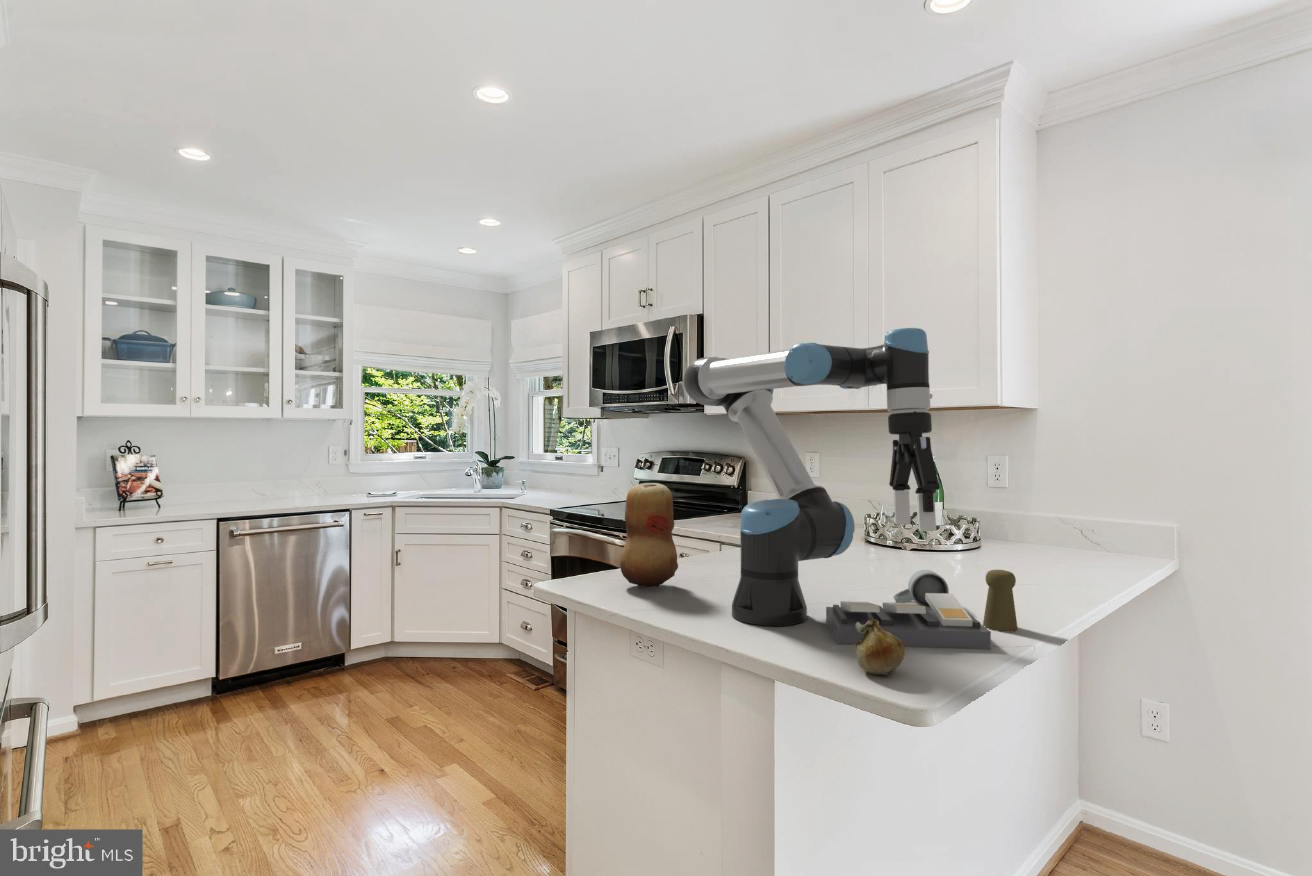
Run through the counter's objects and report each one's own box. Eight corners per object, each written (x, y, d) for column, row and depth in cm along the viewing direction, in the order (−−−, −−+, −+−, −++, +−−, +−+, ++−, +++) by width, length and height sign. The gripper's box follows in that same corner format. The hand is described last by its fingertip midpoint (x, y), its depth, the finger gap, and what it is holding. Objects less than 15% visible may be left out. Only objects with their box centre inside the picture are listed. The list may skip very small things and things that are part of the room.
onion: (851, 678, 105) (852, 626, 104) (855, 662, 112) (855, 613, 112) (904, 685, 102) (904, 631, 102) (904, 667, 109) (905, 618, 109)
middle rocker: (896, 612, 122) (896, 605, 122) (882, 608, 132) (882, 602, 133) (925, 613, 121) (925, 606, 121) (909, 609, 132) (908, 602, 132)
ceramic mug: (941, 601, 152) (941, 566, 152) (949, 610, 144) (948, 574, 144) (891, 599, 154) (891, 565, 154) (896, 608, 146) (896, 572, 146)
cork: (1004, 633, 128) (1004, 575, 128) (975, 625, 133) (976, 569, 133) (1024, 629, 131) (1025, 571, 131) (996, 621, 136) (996, 566, 136)
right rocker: (942, 625, 121) (943, 618, 121) (925, 598, 132) (925, 592, 132) (972, 626, 121) (972, 619, 120) (951, 599, 131) (952, 593, 131)
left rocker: (850, 611, 122) (850, 604, 123) (840, 607, 133) (840, 600, 133) (879, 612, 122) (879, 605, 122) (866, 608, 133) (866, 601, 133)
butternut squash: (631, 596, 156) (630, 486, 156) (613, 583, 169) (612, 482, 168) (686, 590, 161) (686, 484, 161) (666, 578, 174) (665, 480, 173)
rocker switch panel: (837, 644, 121) (838, 621, 121) (826, 621, 135) (826, 601, 135) (990, 648, 119) (990, 626, 119) (962, 626, 133) (962, 605, 133)
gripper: (956, 406, 114) (962, 533, 113) (908, 416, 139) (912, 521, 138) (910, 407, 114) (916, 534, 114) (870, 417, 139) (875, 522, 138)
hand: (914, 527), depth 126 cm, fingers open, 13 cm apart
